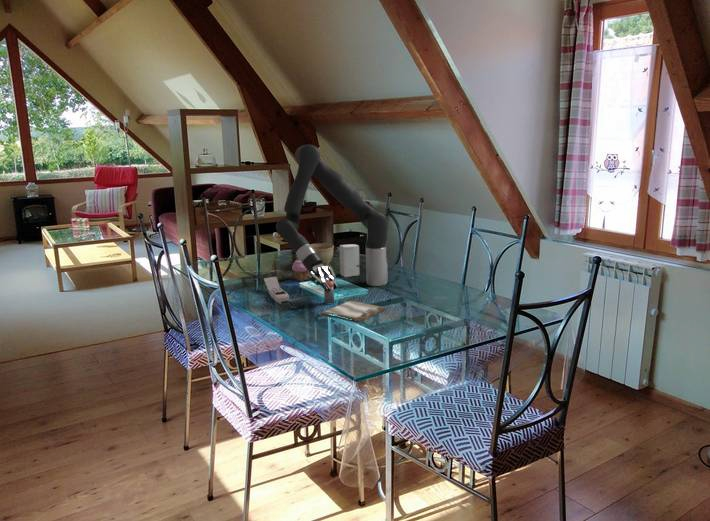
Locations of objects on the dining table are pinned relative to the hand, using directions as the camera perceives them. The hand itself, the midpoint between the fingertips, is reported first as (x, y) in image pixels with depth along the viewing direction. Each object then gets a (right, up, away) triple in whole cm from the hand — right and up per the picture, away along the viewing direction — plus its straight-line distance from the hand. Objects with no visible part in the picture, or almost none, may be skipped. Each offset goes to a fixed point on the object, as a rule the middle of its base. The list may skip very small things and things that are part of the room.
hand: (332, 289), depth 241 cm
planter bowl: (-9, +8, +63) cm, 65 cm away
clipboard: (+9, -8, -10) cm, 16 cm away
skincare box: (+7, +5, +45) cm, 46 cm away
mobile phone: (-24, -4, +14) cm, 29 cm away
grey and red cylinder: (-1, -6, +3) cm, 6 cm away
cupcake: (-16, +2, +39) cm, 42 cm away
